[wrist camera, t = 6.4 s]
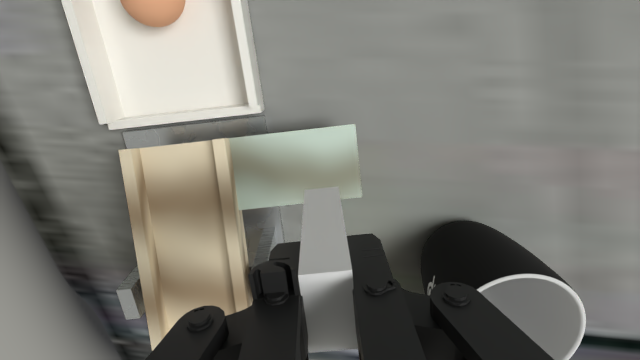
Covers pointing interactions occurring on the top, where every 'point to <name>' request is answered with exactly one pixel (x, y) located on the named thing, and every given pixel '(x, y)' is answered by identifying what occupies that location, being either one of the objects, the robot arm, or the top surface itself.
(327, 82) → the top surface
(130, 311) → the stand
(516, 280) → the mug
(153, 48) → the dish
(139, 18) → the ball
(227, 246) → the wooden ramp
